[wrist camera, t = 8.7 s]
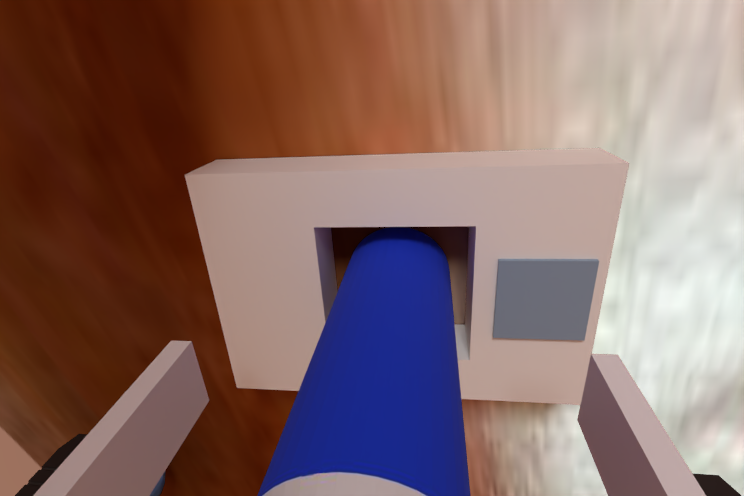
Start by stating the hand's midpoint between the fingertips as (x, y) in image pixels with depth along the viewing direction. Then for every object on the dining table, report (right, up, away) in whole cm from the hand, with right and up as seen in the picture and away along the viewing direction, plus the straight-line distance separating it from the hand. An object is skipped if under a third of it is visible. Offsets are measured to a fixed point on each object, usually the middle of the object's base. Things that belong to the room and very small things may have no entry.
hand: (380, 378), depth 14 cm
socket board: (+1, +3, +8) cm, 9 cm away
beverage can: (+1, +3, +8) cm, 9 cm away
